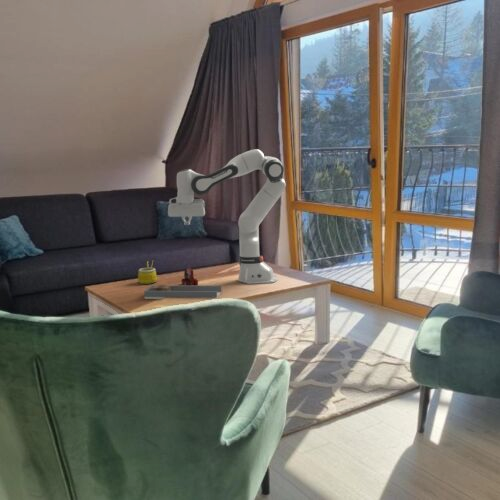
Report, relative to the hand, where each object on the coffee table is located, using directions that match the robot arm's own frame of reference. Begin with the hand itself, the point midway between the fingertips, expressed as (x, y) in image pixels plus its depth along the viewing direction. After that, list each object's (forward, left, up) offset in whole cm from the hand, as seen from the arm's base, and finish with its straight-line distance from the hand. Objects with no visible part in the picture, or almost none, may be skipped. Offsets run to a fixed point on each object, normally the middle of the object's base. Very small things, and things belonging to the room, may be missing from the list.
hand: (187, 224), depth 314 cm
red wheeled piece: (0, +2, -34) cm, 34 cm away
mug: (+26, -6, -34) cm, 43 cm away
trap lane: (-2, +23, -34) cm, 41 cm away
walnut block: (+9, +23, -33) cm, 41 cm away
